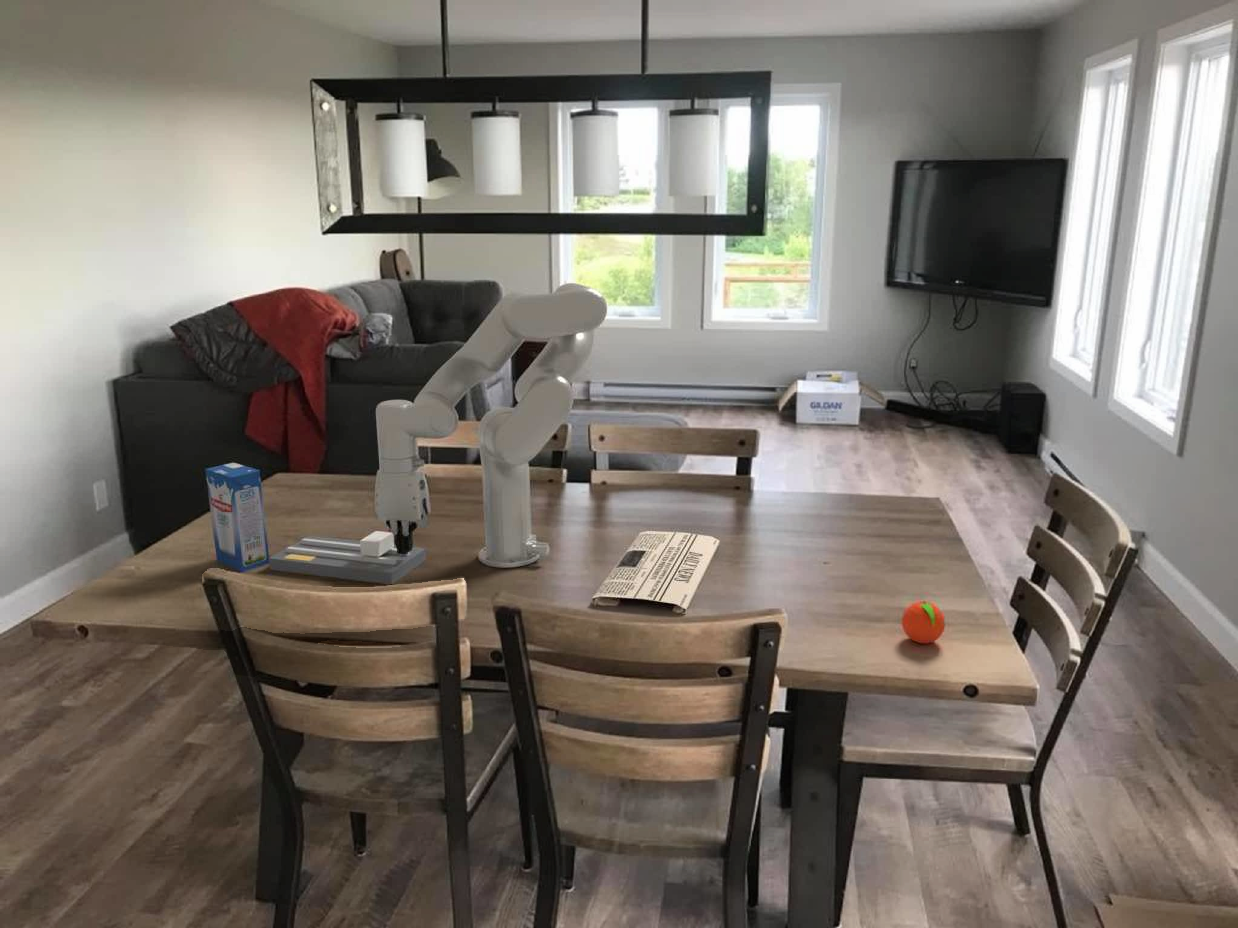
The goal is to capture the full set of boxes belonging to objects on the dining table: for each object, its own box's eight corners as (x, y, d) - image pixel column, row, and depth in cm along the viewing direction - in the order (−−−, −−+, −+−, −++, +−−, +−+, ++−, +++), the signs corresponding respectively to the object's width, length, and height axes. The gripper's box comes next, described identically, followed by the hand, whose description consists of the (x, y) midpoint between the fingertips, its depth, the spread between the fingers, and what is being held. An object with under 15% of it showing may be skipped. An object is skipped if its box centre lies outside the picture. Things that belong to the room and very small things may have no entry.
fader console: (426, 559, 205) (425, 544, 204) (391, 584, 192) (390, 568, 192) (310, 546, 214) (309, 531, 213) (270, 569, 201) (268, 553, 200)
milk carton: (216, 561, 206) (205, 468, 200) (244, 552, 210) (233, 462, 205) (242, 572, 200) (230, 477, 194) (270, 563, 204) (259, 470, 199)
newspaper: (639, 541, 217) (639, 529, 216) (727, 548, 212) (727, 536, 211) (591, 607, 182) (591, 593, 182) (695, 618, 177) (695, 603, 177)
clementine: (953, 652, 162) (956, 612, 160) (912, 654, 162) (915, 614, 160) (933, 631, 170) (936, 592, 168) (894, 633, 169) (896, 594, 167)
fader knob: (394, 551, 202) (393, 532, 201) (379, 561, 197) (377, 542, 196) (377, 549, 204) (375, 530, 202) (361, 559, 198) (359, 540, 197)
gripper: (442, 461, 194) (447, 549, 199) (375, 456, 199) (381, 542, 203) (424, 471, 187) (429, 562, 192) (355, 465, 192) (361, 554, 197)
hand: (404, 551), depth 198 cm, fingers closed
